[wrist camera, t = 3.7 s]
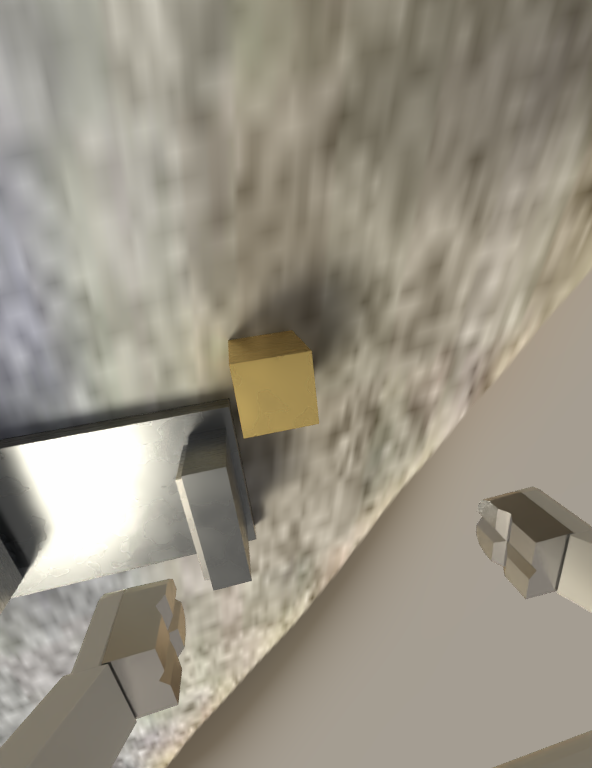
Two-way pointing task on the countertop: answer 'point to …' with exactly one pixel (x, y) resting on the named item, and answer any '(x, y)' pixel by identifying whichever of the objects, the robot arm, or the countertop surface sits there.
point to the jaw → (7, 577)
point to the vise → (127, 498)
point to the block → (273, 383)
